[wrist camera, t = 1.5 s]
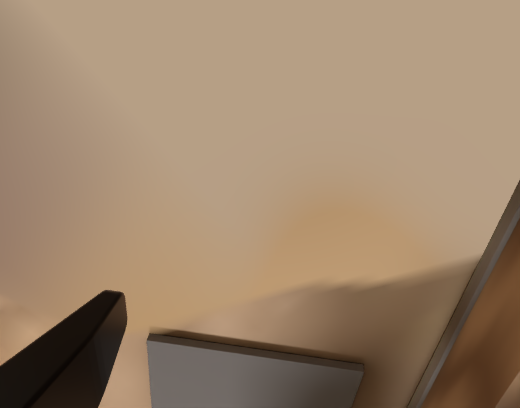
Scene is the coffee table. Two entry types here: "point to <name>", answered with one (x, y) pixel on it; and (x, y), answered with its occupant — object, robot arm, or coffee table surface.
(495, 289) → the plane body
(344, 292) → the coffee table surface
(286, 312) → the coffee table surface
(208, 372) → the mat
